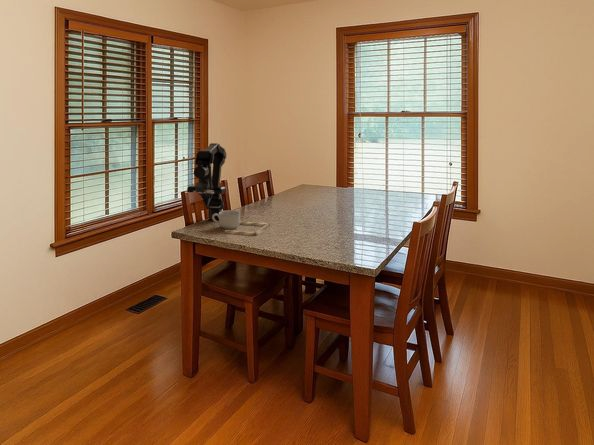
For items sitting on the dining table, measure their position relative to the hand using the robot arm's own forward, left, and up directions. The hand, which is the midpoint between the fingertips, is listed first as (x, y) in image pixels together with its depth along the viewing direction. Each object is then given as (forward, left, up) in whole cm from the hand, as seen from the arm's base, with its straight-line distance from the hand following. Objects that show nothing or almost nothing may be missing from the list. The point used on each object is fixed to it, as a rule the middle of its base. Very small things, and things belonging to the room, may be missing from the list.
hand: (207, 206), depth 231 cm
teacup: (+11, 0, -11) cm, 15 cm away
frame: (+22, 0, -10) cm, 24 cm away
